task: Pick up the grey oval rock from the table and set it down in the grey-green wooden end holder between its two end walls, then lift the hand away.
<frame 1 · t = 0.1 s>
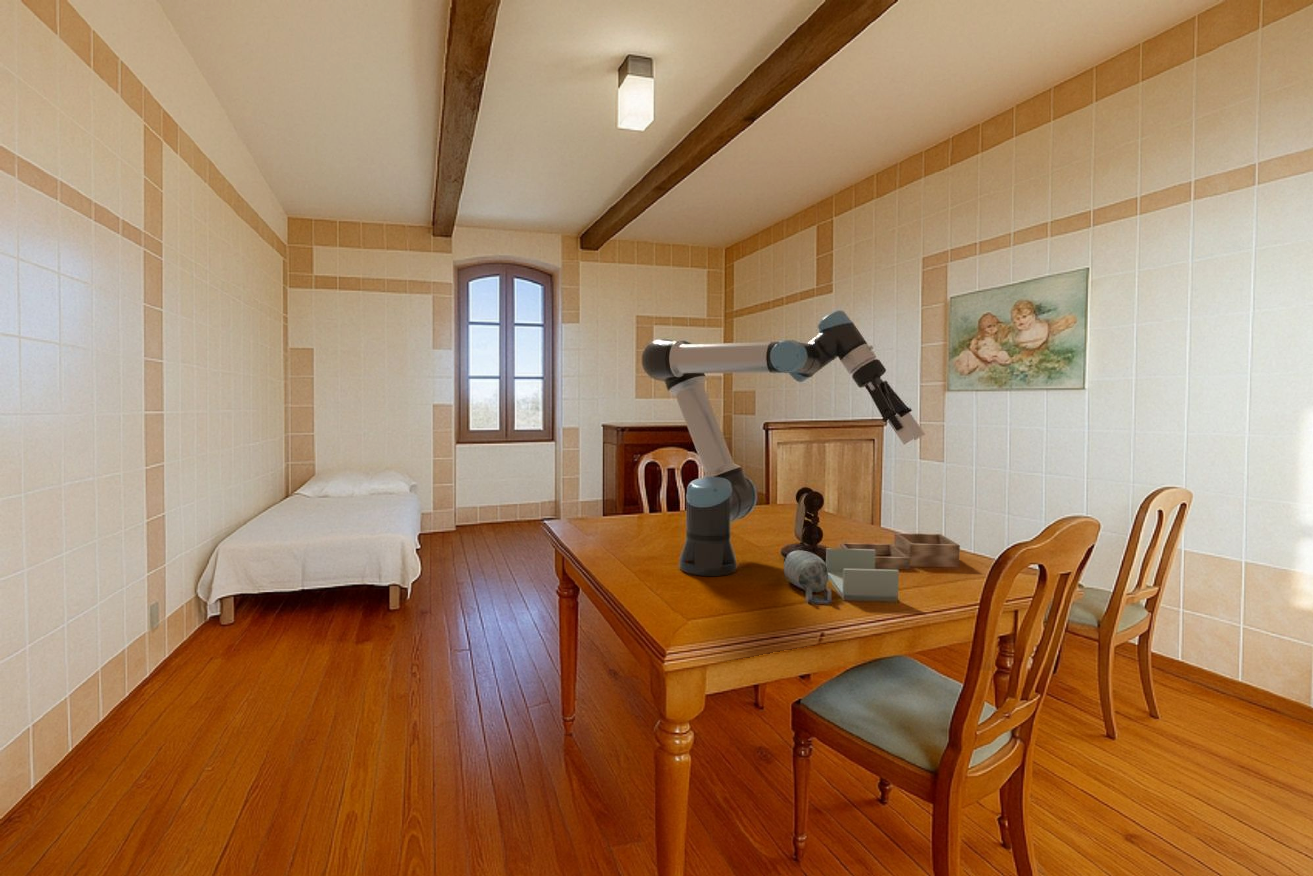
hand: (915, 439, 150), 36 cm above the table, fingers open, 13 cm apart
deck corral: (872, 560, 175), on the table
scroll: (807, 561, 175), on the table
grey oval rock: (804, 587, 152), on the table
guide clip: (818, 601, 141), on the table
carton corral: (925, 560, 176), on the table
holder: (859, 587, 151), on the table
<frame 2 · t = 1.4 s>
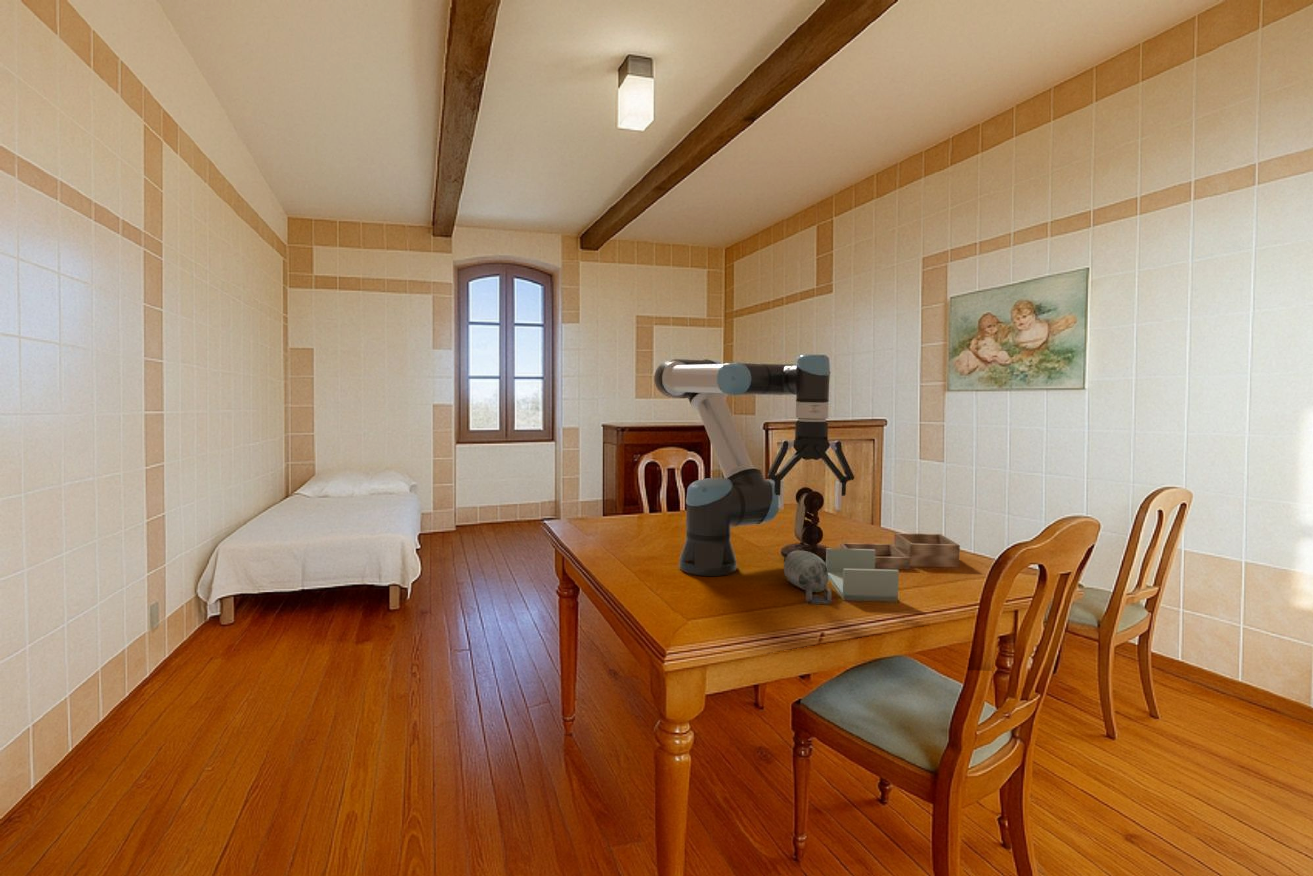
hand: (809, 509, 151), 19 cm above the table, fingers open, 13 cm apart
nothing on the table moved.
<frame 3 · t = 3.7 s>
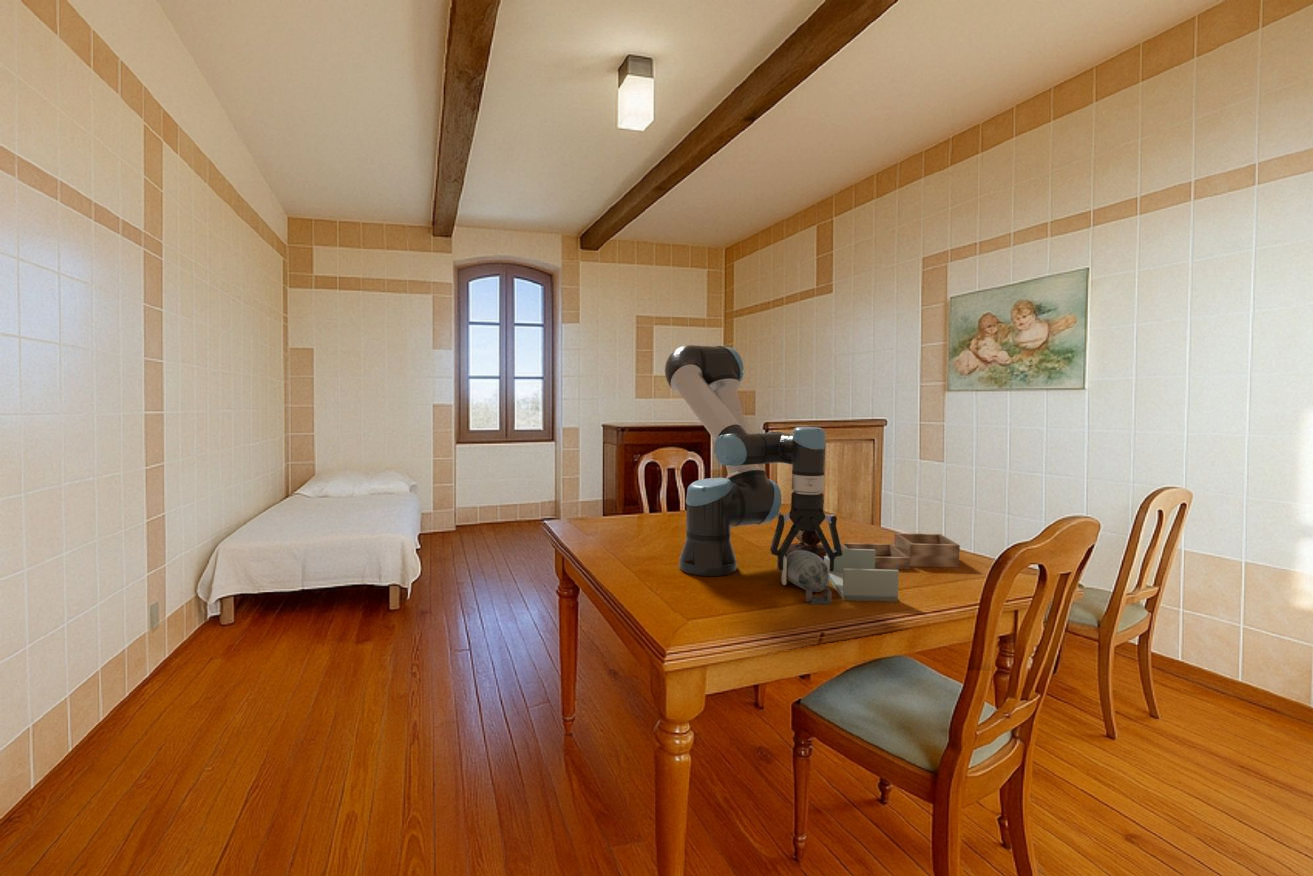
hand: (804, 583, 152), 1 cm above the table, fingers closed on grey oval rock, 9 cm apart
grey oval rock: (804, 587, 152), on the table, touching gripper
everything else where it was.
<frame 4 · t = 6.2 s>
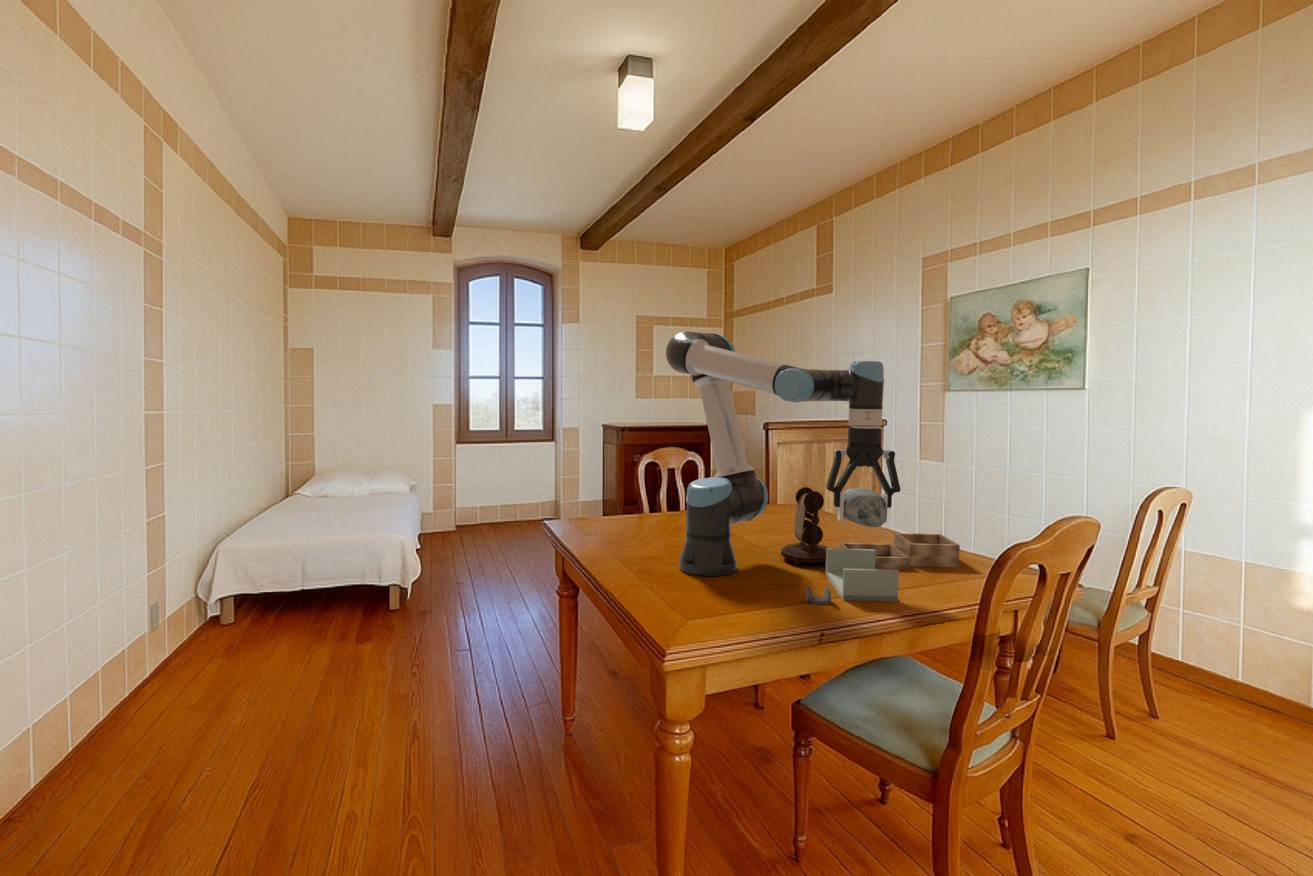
hand: (861, 520, 150), 16 cm above the table, fingers closed on grey oval rock, 9 cm apart
grey oval rock: (861, 524, 150), point 15 cm above the table, touching gripper
everything else where it was.
when the fingers open (4 cm above the table, at t = 8.6 s): grey oval rock drops 2 cm, resting on holder.
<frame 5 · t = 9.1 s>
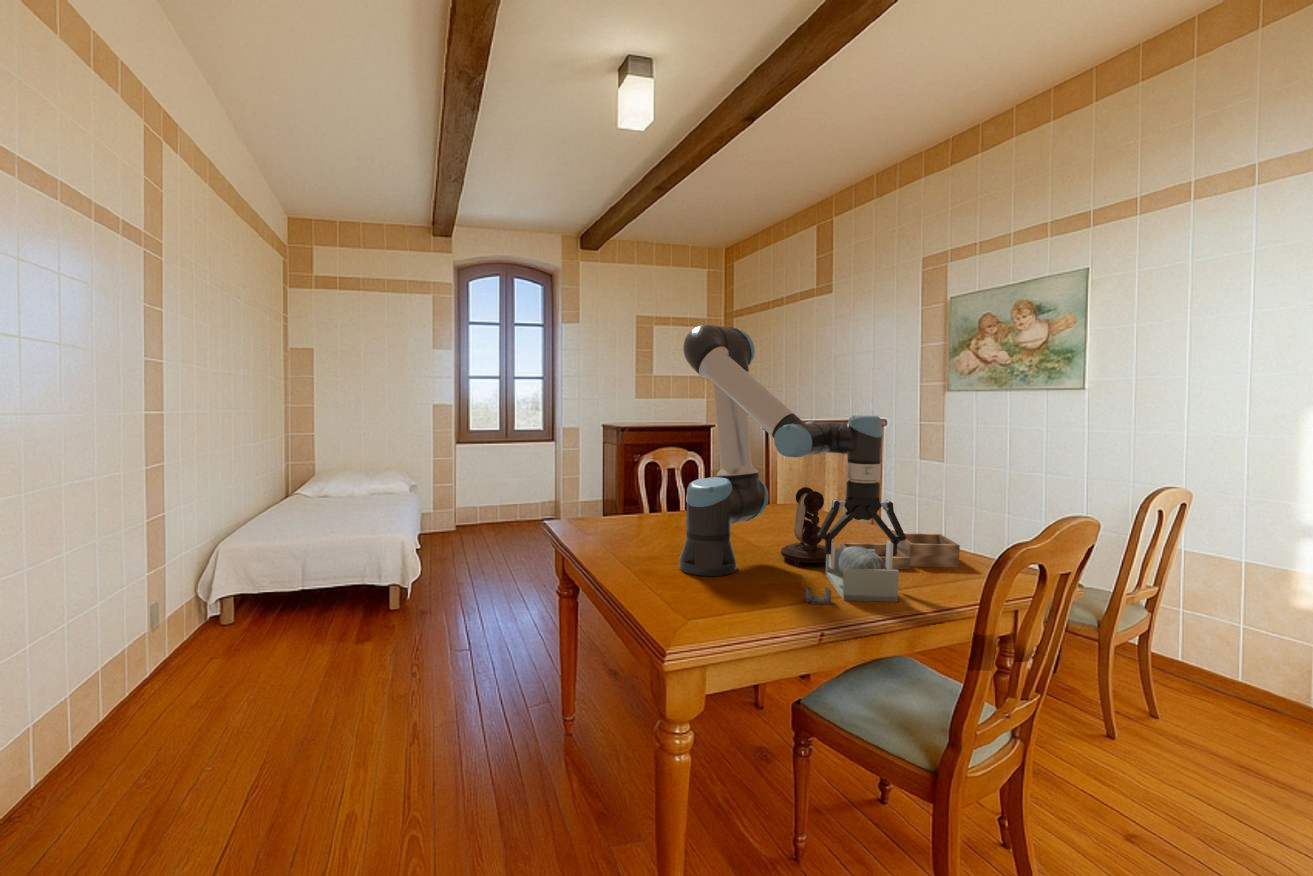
hand: (860, 568, 151), 5 cm above the table, fingers open, 13 cm apart
grey oval rock: (860, 583, 151), point 1 cm above the table, touching holder
everything else where it was.
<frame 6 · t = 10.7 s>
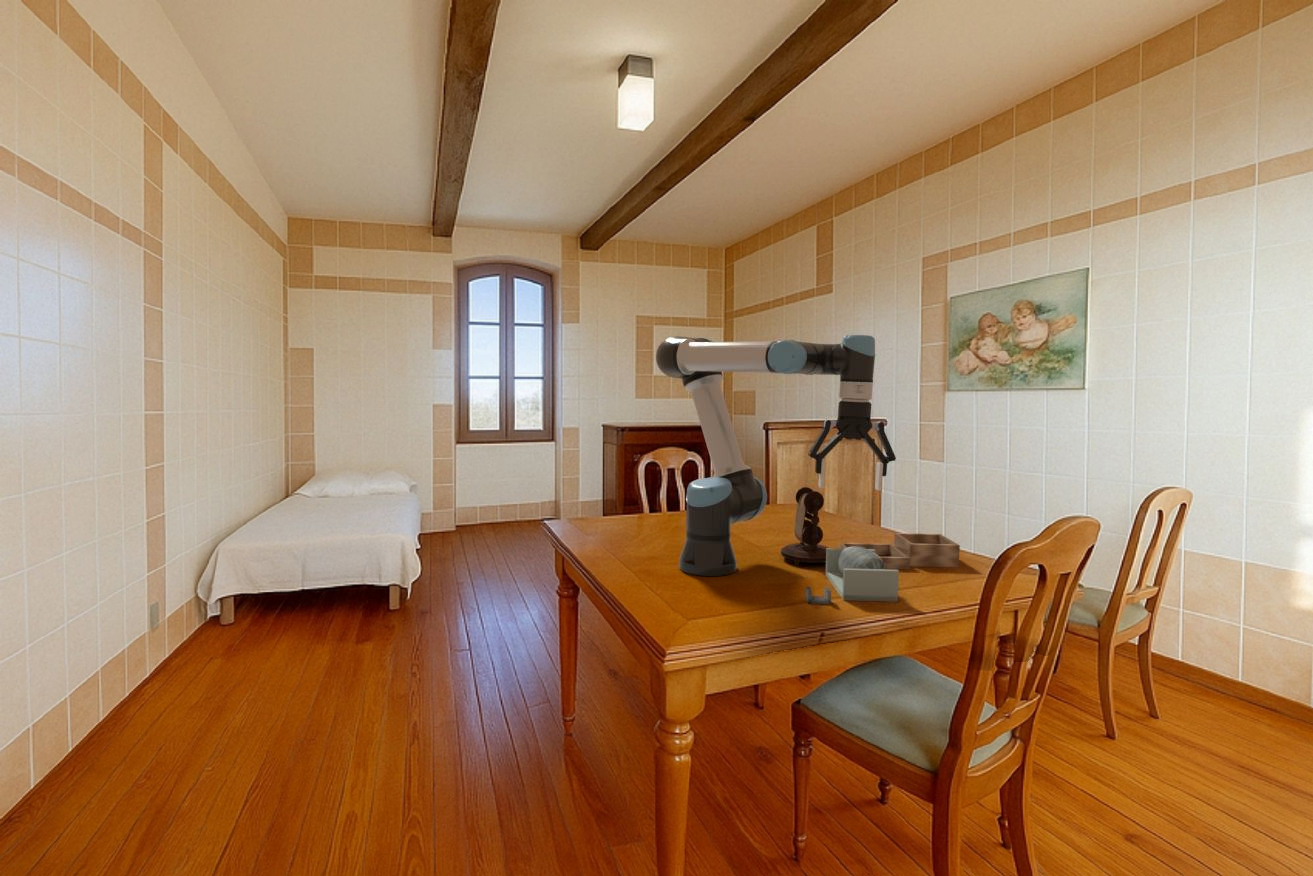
hand: (849, 488, 152), 24 cm above the table, fingers open, 13 cm apart
nothing on the table moved.
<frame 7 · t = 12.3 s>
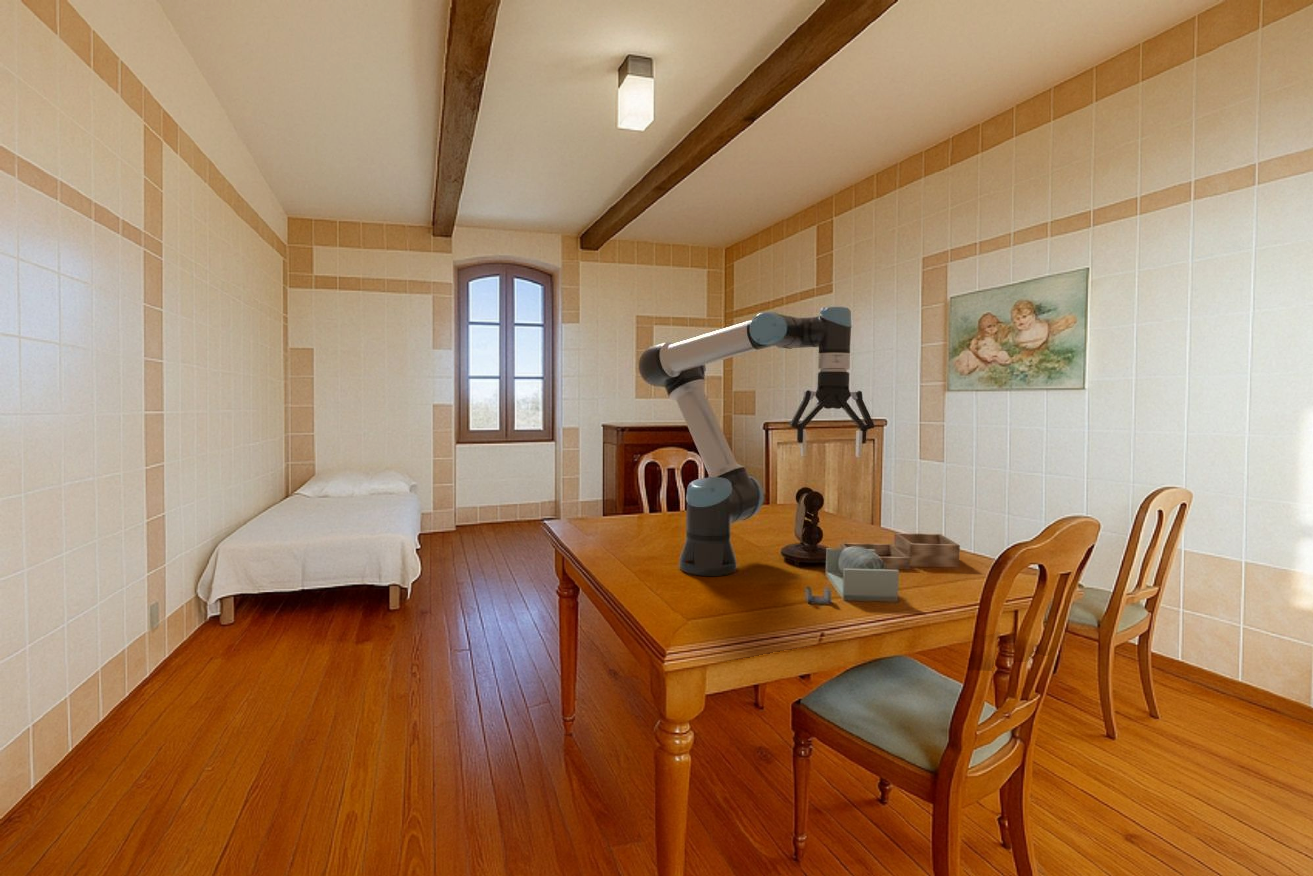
hand: (830, 456, 157), 31 cm above the table, fingers open, 13 cm apart
nothing on the table moved.
at the end: grey oval rock inside the target area on the holder (0.2 cm from its centre), point 1.0 cm above the holder's base; the gripper is holding nothing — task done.
